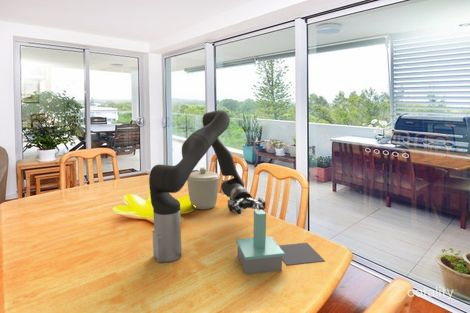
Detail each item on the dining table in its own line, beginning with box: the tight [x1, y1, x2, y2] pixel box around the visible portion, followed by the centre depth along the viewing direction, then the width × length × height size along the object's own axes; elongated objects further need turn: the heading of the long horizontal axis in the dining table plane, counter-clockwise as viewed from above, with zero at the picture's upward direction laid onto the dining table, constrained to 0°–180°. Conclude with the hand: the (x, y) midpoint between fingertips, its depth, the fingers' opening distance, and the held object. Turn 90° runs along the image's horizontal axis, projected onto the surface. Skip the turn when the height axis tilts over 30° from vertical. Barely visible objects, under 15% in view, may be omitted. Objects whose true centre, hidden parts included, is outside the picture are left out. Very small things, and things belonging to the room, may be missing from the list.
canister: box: [186, 167, 221, 210], centre depth 161 cm, size 18×18×21 cm
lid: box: [235, 209, 284, 260], centre depth 103 cm, size 13×13×14 cm
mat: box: [278, 242, 326, 266], centre depth 112 cm, size 14×14×1 cm
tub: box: [237, 246, 283, 275], centre depth 104 cm, size 12×12×6 cm
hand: (251, 211), depth 113 cm, fingers open, 8 cm apart
